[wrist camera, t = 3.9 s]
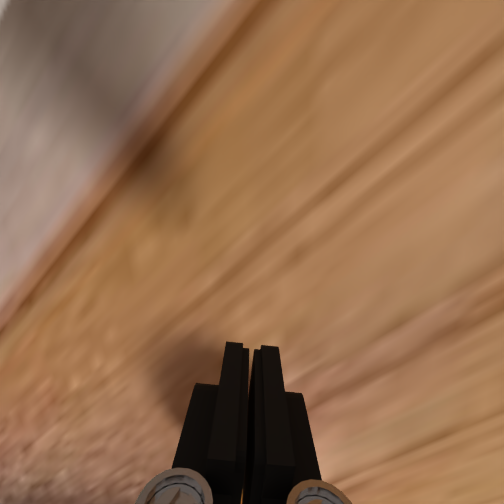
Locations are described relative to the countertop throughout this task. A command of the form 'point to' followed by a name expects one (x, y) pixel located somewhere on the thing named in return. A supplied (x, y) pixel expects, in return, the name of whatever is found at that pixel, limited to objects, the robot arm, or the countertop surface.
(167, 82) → the countertop surface
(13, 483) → the countertop surface
